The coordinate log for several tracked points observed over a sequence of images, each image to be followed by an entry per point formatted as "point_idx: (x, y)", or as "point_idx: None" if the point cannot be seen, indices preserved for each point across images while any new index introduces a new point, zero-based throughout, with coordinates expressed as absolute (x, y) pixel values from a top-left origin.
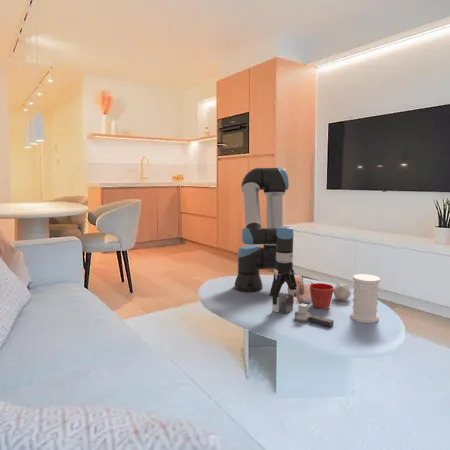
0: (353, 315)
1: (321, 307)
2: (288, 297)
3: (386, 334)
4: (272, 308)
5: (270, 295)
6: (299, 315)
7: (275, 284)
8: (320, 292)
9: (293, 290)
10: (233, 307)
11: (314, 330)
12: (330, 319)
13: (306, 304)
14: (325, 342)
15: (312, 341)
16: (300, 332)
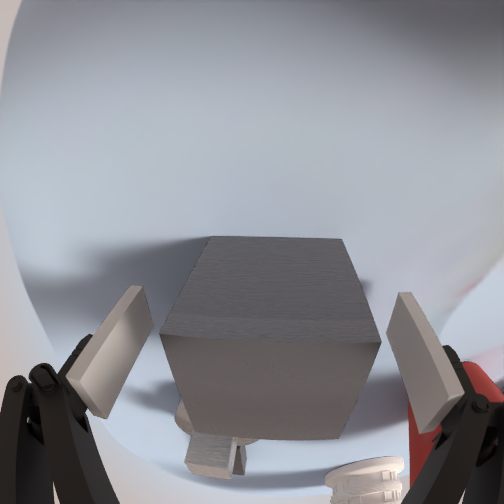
0: (343, 476)
1: (408, 412)
2: (242, 437)
3: (278, 493)
4: (122, 296)
5: (15, 388)
6: (185, 422)
7: (20, 502)
8: (410, 486)
9: (423, 431)
10: None
11: (164, 434)
12: (243, 472)
13: (227, 477)
14: (131, 445)
15: (107, 429)
16: (114, 410)
